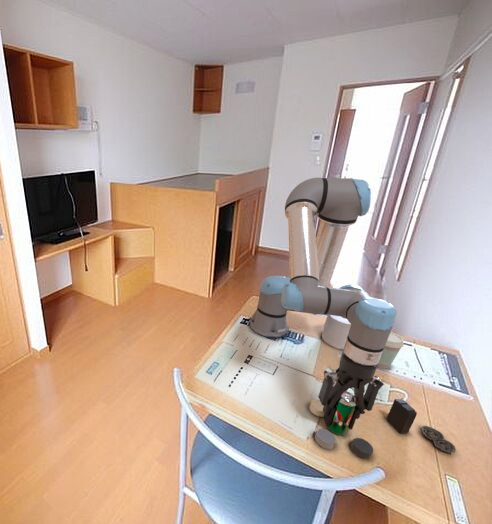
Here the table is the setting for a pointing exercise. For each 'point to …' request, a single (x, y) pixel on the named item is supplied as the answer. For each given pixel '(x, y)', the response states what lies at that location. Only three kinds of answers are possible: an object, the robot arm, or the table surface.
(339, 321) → the toilet paper roll
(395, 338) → the coffee cup
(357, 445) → the charcoal cap
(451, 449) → the corroded twin loop
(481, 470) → the table surface
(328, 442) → the grey cap
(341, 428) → the soda can
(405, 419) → the ink cartridge
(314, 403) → the cream cap
